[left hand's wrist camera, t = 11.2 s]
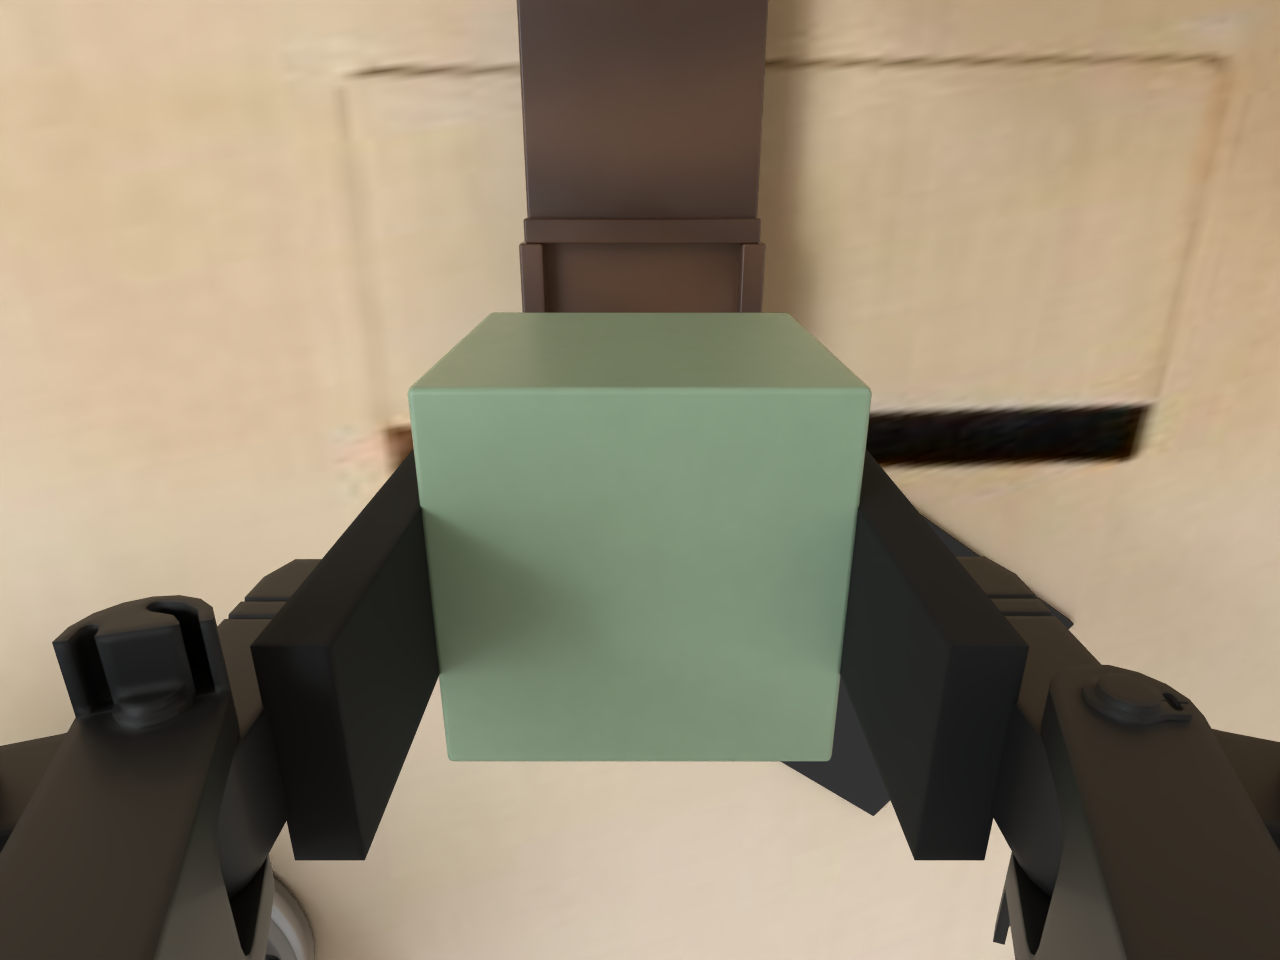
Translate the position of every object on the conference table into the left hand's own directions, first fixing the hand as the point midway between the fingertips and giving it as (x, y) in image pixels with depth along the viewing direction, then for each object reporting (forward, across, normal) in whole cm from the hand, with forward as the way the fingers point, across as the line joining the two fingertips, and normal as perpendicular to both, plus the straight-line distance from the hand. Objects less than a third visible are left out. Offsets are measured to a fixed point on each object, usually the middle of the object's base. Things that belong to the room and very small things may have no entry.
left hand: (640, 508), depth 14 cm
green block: (+3, 0, 0) cm, 3 cm away
